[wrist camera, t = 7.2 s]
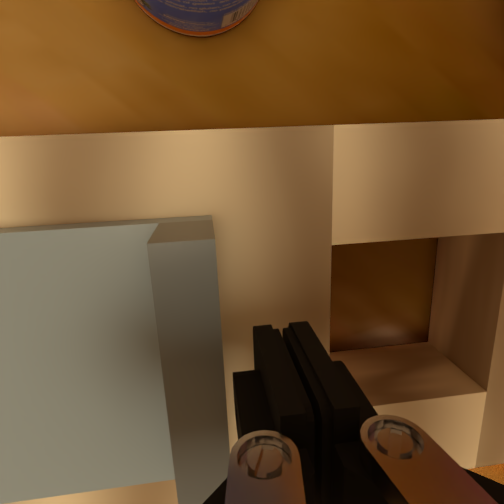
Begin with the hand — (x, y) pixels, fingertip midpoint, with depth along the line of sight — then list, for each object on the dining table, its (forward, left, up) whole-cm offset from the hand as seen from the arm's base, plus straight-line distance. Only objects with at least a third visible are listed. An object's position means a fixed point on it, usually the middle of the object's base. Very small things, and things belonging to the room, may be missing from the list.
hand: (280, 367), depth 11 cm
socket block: (+1, 0, -6) cm, 6 cm away
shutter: (+7, 0, -2) cm, 7 cm away
